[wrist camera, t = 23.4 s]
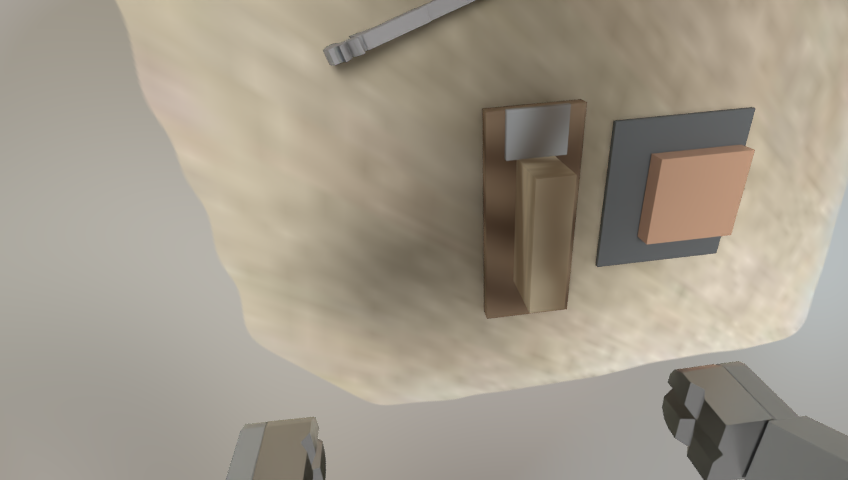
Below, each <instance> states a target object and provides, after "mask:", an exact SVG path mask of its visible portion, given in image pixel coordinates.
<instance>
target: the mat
mask: <svg viewBox="0 0 848 480" xmlns="http://www.w3.org/2000/svg"><path fill="white" fill-rule="evenodd" d="M754 112H755V108H753V107H749V108H739V109H729V110H719V111H708V112H698V113H688V114H678V115H668V116H657V117H647V118H637V119H627V120H616V121H614V123H613V131H612V139H611V147H610V155H609V162H608V170H607V178H606V186H605V194H604V202H603V210H602V218H601V225H600V233H599V241H598V249H597V257H596V266H597V267H602V266H610V265H619V264H627V263H636V262H645V261H653V260H662V259H670V258H679V257H688V256H696V255H705V254H713V253H716V252H717V249H718V245H719V241H720V238H721V236H717V237H708V238H700V239H691V240H682V241H673V242H665V243H656V244H647V245H646V244H645V243H644V242H643V241H642V240H641V239H640V238H639V237H638V230H639V225H640V219H641V213H642V207H643V201H644V196H645V190H646V184H647V178H648V172H649V167H650V161H651V155H652V154H654V153H663V152H673V151H683V150H693V149H702V148H712V147H722V146H732V145H744V146H745V145H746V141H747V138H748V134H749V130H750V127H751V123H752V119H753V115H754Z"/></svg>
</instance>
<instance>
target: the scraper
mask: <svg viewBox="0 0 848 480" xmlns="http://www.w3.org/2000/svg"><path fill="white" fill-rule="evenodd" d="M570 110H571V104H570V103H563V104H552V105H542V106H531V107H521V108H511V109H505V160H506V161H509V160H517V164H516V202H515V240H514V277H513V281H514V283H515V285H516V287H517V289H518V291H519V293H520V295H521V297H522V299H523V301H524V303H525V305H526V307H527V309H528V311H529V313H535V312H544V311H552V310H560V309H564V307H565V297H566V286H567V275H568V264H569V254H570V243H571V232H572V221H573V210H574V200H575V189H576V178H577V175H576V174H575V173H574V172H573V171H572V170H570V169H569V168H568V167H567V166H566V165H565V164H564V163H562V162H561V161H560V160H559V159H558V158H557V157H556V156H558V155H567V147H568V135H569V122H570Z"/></svg>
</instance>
